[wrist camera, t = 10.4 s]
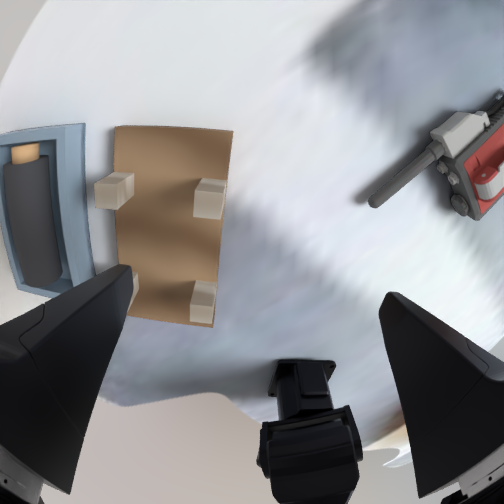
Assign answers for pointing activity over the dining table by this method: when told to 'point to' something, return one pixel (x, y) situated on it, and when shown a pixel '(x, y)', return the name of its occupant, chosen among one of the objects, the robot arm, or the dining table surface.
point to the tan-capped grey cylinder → (32, 215)
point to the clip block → (169, 217)
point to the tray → (55, 203)
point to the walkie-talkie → (462, 161)
